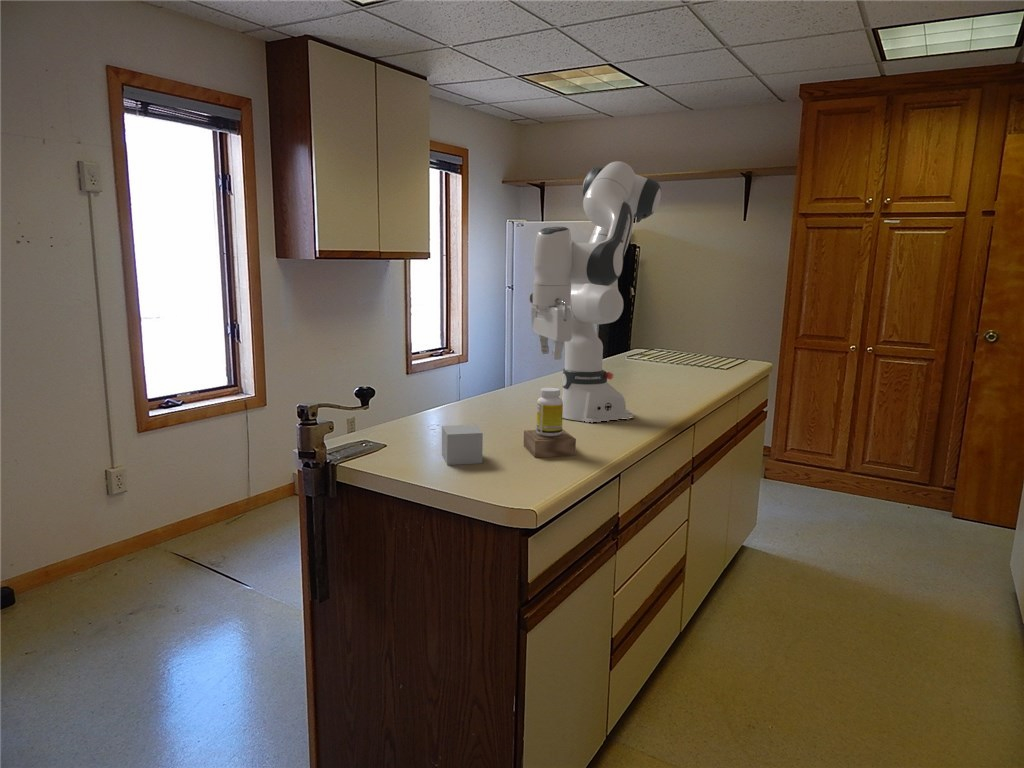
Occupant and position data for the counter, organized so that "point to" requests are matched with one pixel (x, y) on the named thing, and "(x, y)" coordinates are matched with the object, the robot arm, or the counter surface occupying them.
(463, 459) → the grey pedestal
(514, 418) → the counter surface
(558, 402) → the pill bottle
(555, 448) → the walnut base
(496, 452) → the counter surface
